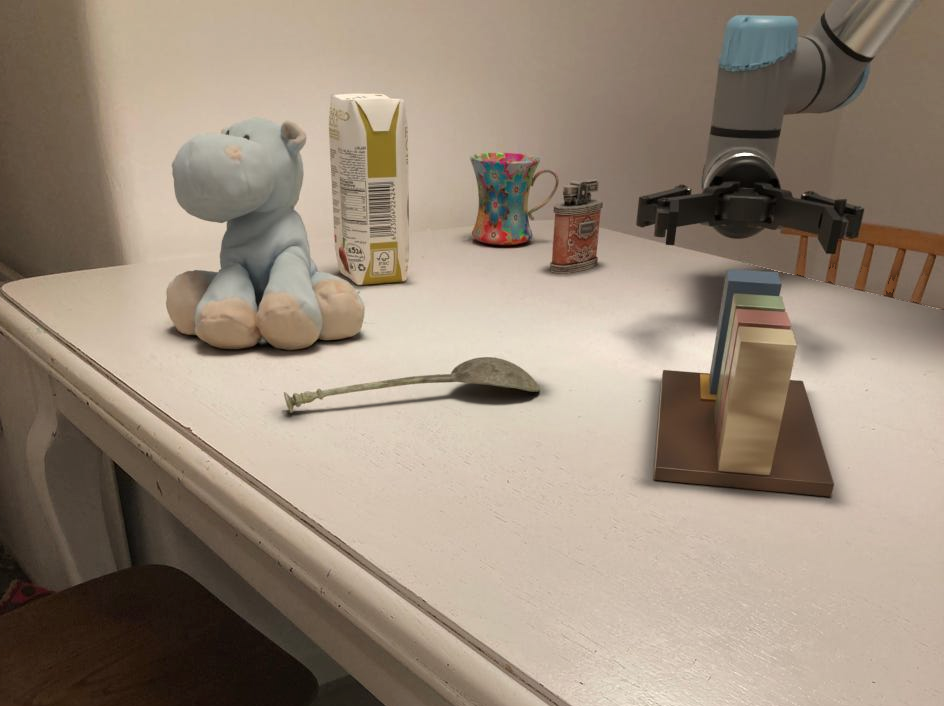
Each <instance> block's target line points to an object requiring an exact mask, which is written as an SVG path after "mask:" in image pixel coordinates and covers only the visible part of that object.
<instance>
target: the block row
mask: <svg viewBox="0 0 944 706" xmlns="http://www.w3.org/2000/svg"><path fill="white" fill-rule="evenodd" d="M786 310H787V309H786V306H785V303H784V300H783V297H782V296H766V295H750V294H734V295H733V301H732V307H731V313H730V319H729V325H728V331H727V337H726V342H725V348H724V354H723V360H722V366H721V372H720V378H719V384H718V390H717V394H710V385H709V376H710V372H709V373H708V372H696V371H695V372H694V371H682V370H671V369H663V370H662V373H661V381H660V396H659V408H658V419H657V420H658V422H657V432H656V433H657V435H656V445H655V446H656V447H655V458H654V470H653V471H654V472H653V480H654V481H662V482H671V483H672V482H673V483H684V484H691V485H692V484H693V485H703V486H712V487H713V486H714V487H724V488H732V489H733V488H734V489H744V490H745V489H746V490H757V491H765V492H777V493H788V494H797V495H806V496H807V495H808V496H816V497H817V496H818V497H819V496H820V497H828V498H831V497H832V495H833V492H834V487H835V482H834V480H833V479H834V478H833V476H832V471H831V469H830V466H829V462H828V459H827V456H826V452H825V450H824V445H823V443H822V442H823V441H822V438H821V435H820V433H819V430H818V426H817V421H816V420H815V415H814V413H813V409H812V406H811V403H810V399H809V396H808V393H807V390H806V387H805V383H804V380H798V379H797V380H796V379H791V376H792V372H793V369H794V368H793V367H794V362H795V358H796V354H797V349H798V344H797V340H796V338H795V334H794V332H793V331H794V330H793V329H792V325H791V321H790V318H789V315H788V312H787V311H786Z"/></svg>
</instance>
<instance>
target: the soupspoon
mask: <svg viewBox="0 0 944 706" xmlns="http://www.w3.org/2000/svg"><path fill="white" fill-rule="evenodd" d="M439 383H461V384H462V383H463V384H474V385H475V384H476V385H486V386H493V387H494V386H495V387H502V388H512V389H516V390H517V389H518V390H522V391H527V392H540V391H541V387H540V386H539V384H538V383H537V381H536V380H535V379H534V378H533V377H532V375H530V373H529V372H527V370H525V369H523V368H522V367H520V365H518V364H516V363H513V362H511V361H509V360H506V359H503V358H499V357H492V356H482V357H475V358H472V359H468V360H466V361H463V362H461V363H460V364H458V365H456V366H455V367H454V368H453V369H452V371H450V373H449V374H448V373H446V374H445V373H443V374H429V375H427V374H426V375H425V374H424V375H415V376H406V377H400V378H399V377H398V378H392V379H387V380H379V381H372V382H366V383H359V384H353V385H346V386H341V387H334V388H329V389H323V390H322V389H321V388H317V390H316V391H309V390H307V391H304V392H300V393H297V392H294V393H292V396H290V395H289V394H288V392H286V391H284V392H283V397H284V401H285V404H286V407H287V409H288V411H289V413H290V414H293V412H294V407H296V408H300V407H301V406H302V405H306V404H310V403H312V402H314V401H315V400H317V399H319V400H321V401H322V400H324V398H326V397H330V396H337V395H343V394H350V393H356V392H364V391H372V390H379V389H385V388H393V387H401V386H409V385H420V384H439Z"/></svg>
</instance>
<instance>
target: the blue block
mask: <svg viewBox="0 0 944 706" xmlns="http://www.w3.org/2000/svg"><path fill="white" fill-rule="evenodd" d="M782 284H783V283H782V281H781V278H780V275H779V272H778V271H765V270H764V271H763V270H750V269H749V270H748V269H734V268H731V269H730V268H727V269H726V272H725V278H724V285H723V289H722V290H723V291H722V297H721V303H720V309H719V316H718V321H717V326H716V327H717V328H716V334H715V341H714V345H713V346H714V347H713V352H712V358H711V364H710V370H709V373H710V376H709V385H710V394H717V390H718V384H719V378H720V372H721V366H722V360H723V354H724V348H725V342H726V337H727V331H728V325H729V319H730V313H731V307H732V301H733V295H734V294H750V295H766V296H780V295H781V290H782V286H783V285H782Z"/></svg>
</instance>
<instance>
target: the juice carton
mask: <svg viewBox="0 0 944 706" xmlns="http://www.w3.org/2000/svg"><path fill="white" fill-rule="evenodd" d="M406 111H407V110H406V105H405V99H404V98H393V97H392V98H390V97H389V96H388V95H385V94H384V93H341V94H340V93H339V94H330V104H329V116H328V136H329V137H328V138H329V139H328V140H329V157H330V160H329V161H330V177H331V199H332V217H333V234H334V235H333V236H334V251H335V256H336V260H337V265H338V269H339V272H340V274H342V275H343V276H344V277H346V278H348V279H349V280H351V281H352V283H354V284H355V285H358V286H365V285H366V286H367V285H378V284H379V285H380V284H390V283H401V282H406V281H407V276H408V271H409V270H408V268H409V259H410V207H409V203H410V202H409V200H410V198H409V191H410V190H409V128H408V118H407V112H406Z"/></svg>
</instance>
